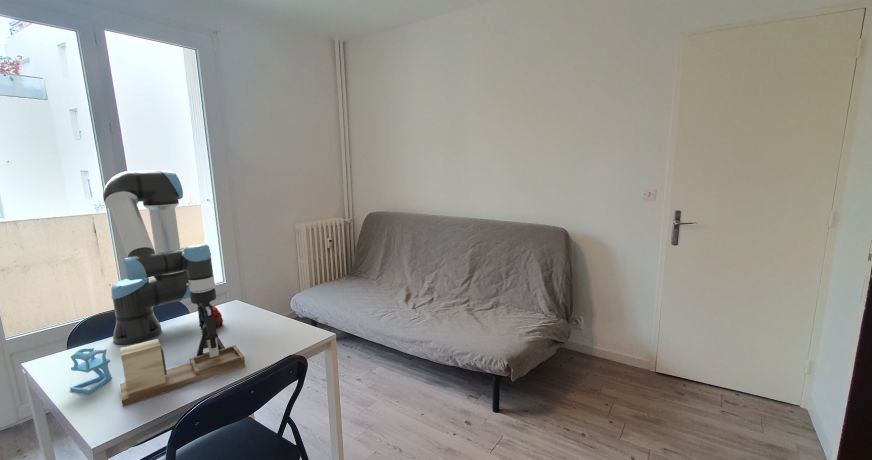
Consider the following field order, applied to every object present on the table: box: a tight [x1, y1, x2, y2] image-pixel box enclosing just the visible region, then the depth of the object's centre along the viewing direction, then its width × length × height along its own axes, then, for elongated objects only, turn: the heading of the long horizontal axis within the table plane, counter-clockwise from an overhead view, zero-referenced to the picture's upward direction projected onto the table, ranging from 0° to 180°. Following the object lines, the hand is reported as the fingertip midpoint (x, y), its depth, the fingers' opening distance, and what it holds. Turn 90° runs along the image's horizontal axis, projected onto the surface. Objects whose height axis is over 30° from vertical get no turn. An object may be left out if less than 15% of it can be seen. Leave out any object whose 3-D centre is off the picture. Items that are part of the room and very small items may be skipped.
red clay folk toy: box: [211, 305, 224, 330], centre depth 157 cm, size 8×7×15 cm
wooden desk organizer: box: [119, 344, 246, 408], centre depth 121 cm, size 11×32×4 cm, turn 131°
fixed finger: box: [119, 338, 167, 394], centre depth 114 cm, size 6×10×12 cm, turn 131°
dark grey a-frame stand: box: [195, 323, 226, 357], centre depth 134 cm, size 9×6×12 cm, turn 118°
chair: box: [69, 347, 113, 394], centre depth 117 cm, size 8×8×12 cm
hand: (211, 351), depth 134 cm, fingers open, 9 cm apart
